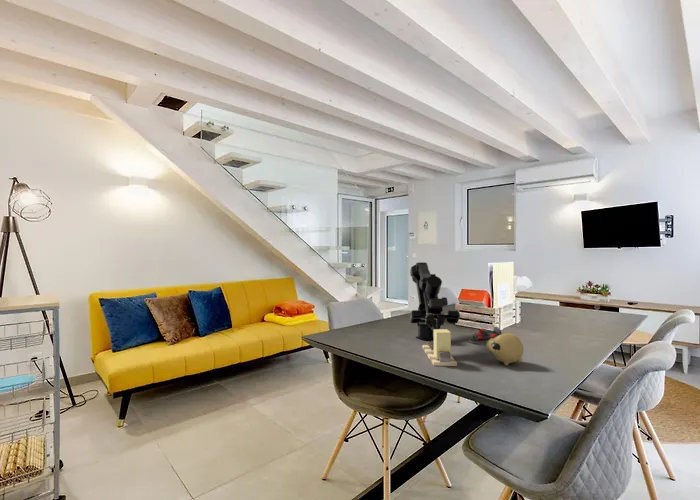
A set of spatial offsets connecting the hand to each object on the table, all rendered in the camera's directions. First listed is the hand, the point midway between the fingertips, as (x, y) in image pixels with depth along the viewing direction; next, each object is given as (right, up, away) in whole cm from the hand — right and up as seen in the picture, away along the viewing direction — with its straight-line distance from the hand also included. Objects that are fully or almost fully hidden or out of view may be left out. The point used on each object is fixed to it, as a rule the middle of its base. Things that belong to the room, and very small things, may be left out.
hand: (437, 335), depth 130 cm
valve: (+26, -8, +15) cm, 31 cm away
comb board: (0, -8, 0) cm, 8 cm away
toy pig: (+21, -8, -9) cm, 25 cm away
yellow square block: (0, -6, -7) cm, 9 cm away
